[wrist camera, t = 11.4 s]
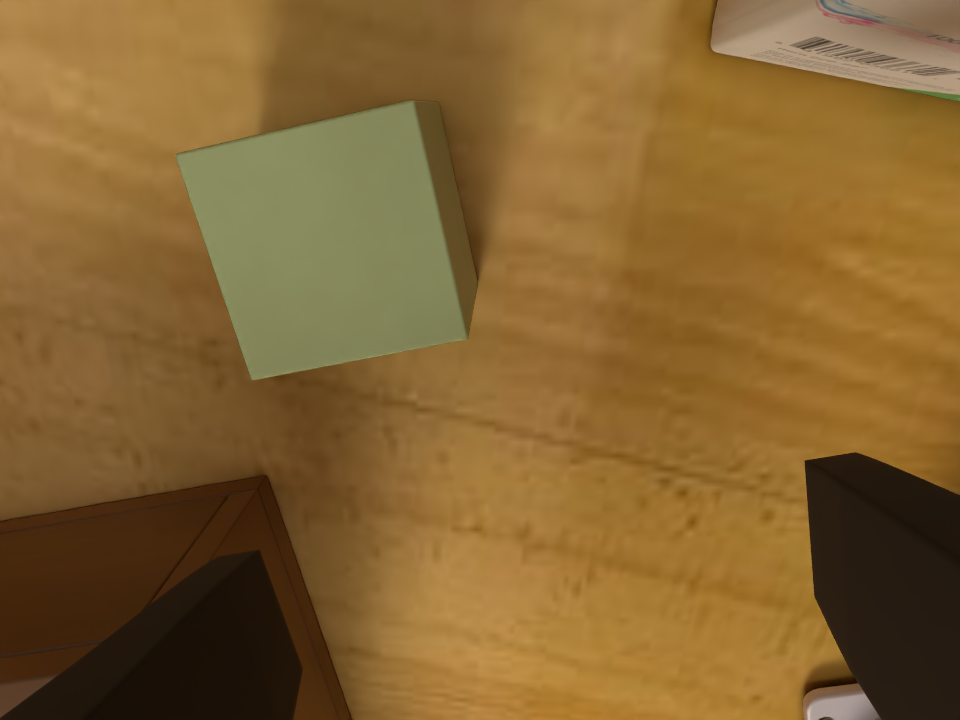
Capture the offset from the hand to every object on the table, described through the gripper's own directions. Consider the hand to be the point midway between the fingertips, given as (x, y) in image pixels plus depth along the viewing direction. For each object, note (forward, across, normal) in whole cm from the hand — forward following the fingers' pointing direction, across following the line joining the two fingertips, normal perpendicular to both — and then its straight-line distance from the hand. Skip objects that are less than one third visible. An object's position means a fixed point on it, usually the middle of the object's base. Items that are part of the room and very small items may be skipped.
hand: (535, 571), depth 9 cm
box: (+9, +3, -4) cm, 11 cm away
